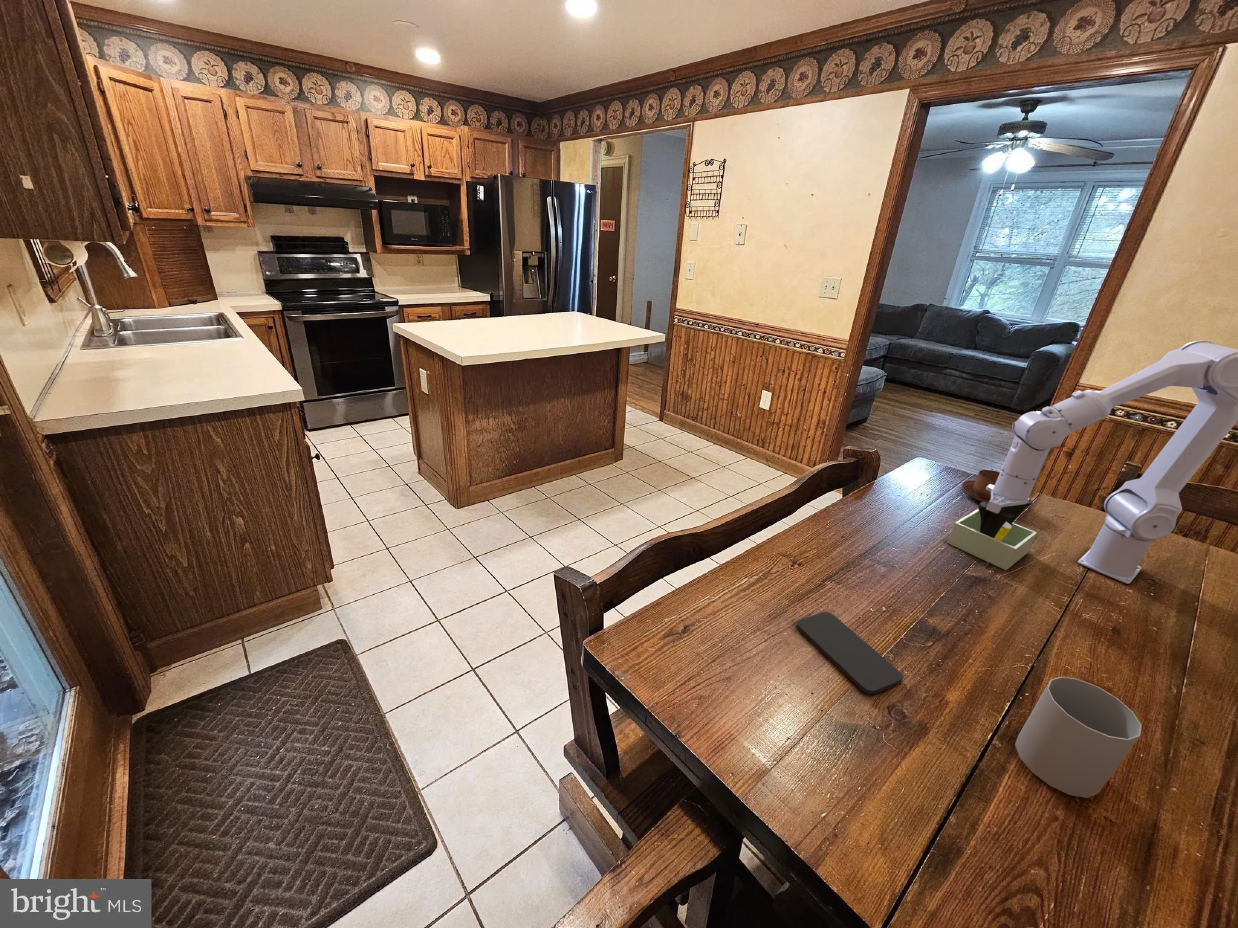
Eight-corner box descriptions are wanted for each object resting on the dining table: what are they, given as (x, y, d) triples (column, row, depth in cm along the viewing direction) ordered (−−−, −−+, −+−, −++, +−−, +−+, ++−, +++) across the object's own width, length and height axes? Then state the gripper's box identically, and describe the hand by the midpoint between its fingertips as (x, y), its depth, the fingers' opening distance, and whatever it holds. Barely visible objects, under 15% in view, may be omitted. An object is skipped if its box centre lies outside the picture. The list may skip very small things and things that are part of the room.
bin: (970, 528, 113) (978, 508, 111) (1027, 553, 105) (1037, 532, 103) (946, 542, 107) (954, 522, 105) (1005, 570, 99) (1015, 549, 97)
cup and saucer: (961, 482, 134) (969, 461, 132) (1016, 497, 128) (1026, 475, 126) (957, 499, 125) (966, 477, 123) (1016, 516, 119) (1027, 493, 117)
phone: (828, 610, 85) (907, 677, 73) (827, 614, 85) (905, 681, 73) (793, 621, 82) (869, 693, 70) (792, 625, 82) (868, 697, 70)
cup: (999, 733, 66) (1030, 677, 62) (1057, 730, 67) (1091, 675, 63) (1054, 799, 59) (1094, 741, 54) (1119, 795, 60) (1163, 738, 55)
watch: (986, 553, 104) (1001, 531, 100) (973, 544, 106) (988, 522, 102) (1003, 546, 106) (1018, 524, 103) (990, 538, 108) (1005, 516, 105)
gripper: (1010, 458, 106) (987, 514, 112) (980, 473, 98) (956, 533, 104) (1051, 471, 101) (1024, 529, 106) (1022, 489, 93) (995, 551, 99)
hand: (993, 532), depth 105 cm, fingers open, 7 cm apart
